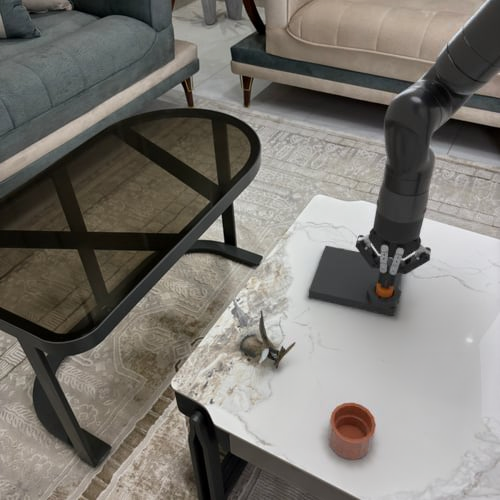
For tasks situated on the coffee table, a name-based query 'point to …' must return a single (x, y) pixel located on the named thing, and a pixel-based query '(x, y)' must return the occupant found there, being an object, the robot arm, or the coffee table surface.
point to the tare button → (384, 291)
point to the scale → (351, 282)
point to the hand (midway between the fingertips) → (385, 284)
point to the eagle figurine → (263, 346)
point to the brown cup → (351, 430)
